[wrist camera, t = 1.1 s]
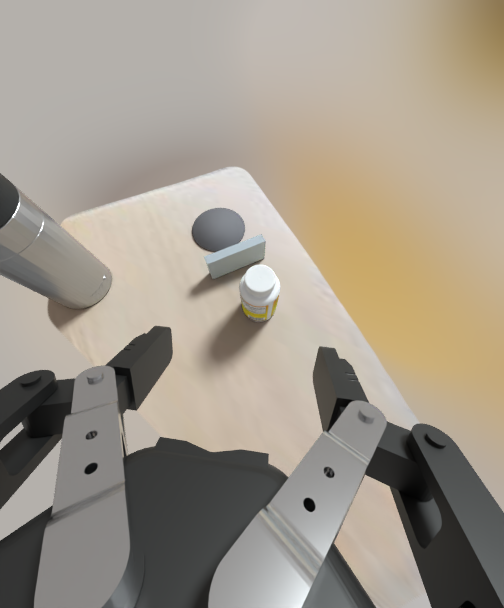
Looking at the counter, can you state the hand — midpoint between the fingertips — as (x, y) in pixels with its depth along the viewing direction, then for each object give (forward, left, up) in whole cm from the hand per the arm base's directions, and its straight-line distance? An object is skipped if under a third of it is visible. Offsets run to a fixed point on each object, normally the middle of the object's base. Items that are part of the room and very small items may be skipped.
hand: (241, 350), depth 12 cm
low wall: (-8, +18, -23) cm, 30 cm away
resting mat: (-14, +24, -23) cm, 37 cm away
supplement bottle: (-2, +11, -24) cm, 26 cm away
